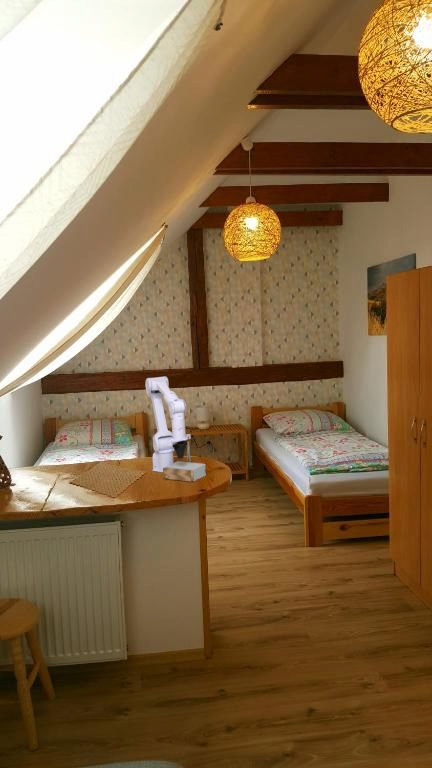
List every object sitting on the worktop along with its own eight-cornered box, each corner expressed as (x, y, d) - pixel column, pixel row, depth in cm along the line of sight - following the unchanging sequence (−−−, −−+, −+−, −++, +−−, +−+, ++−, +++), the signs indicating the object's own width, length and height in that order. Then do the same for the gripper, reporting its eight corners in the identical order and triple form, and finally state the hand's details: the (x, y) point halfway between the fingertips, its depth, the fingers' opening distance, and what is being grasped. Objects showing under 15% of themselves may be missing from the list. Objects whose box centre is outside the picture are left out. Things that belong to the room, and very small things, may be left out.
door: (194, 480, 247) (193, 470, 246) (191, 482, 245) (190, 471, 244) (164, 477, 254) (164, 467, 253) (162, 479, 252) (161, 468, 251)
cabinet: (166, 477, 255) (165, 466, 254) (178, 471, 264) (178, 461, 263) (193, 481, 247) (193, 470, 247) (206, 474, 256) (205, 464, 255)
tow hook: (200, 464, 276) (183, 466, 272) (199, 437, 275) (182, 440, 270) (208, 467, 269) (191, 470, 265) (208, 441, 268) (190, 443, 263)
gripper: (176, 432, 239) (178, 463, 241) (195, 425, 251) (197, 454, 253) (162, 430, 243) (164, 461, 244) (182, 424, 255) (184, 453, 257)
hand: (180, 458), depth 249 cm, fingers closed
